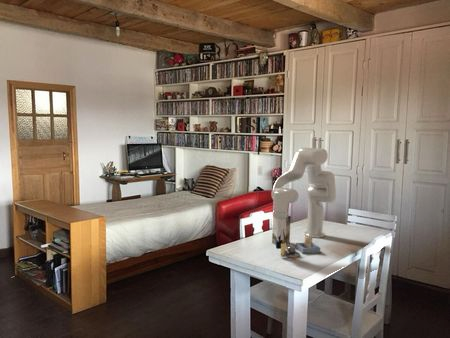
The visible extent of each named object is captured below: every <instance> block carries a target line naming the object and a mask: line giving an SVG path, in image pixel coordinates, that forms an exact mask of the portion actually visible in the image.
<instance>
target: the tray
mask: <svg viewBox="0 0 450 338" xmlns="http://www.w3.org/2000/svg"><path fill="white" fill-rule="evenodd" d="M304 245H305V242H295V247H296V250H297V251H298V252H299V253H301V254H302V255H304V254H306V255H310V254H321V247H320V246H318V245H317V244H316V243H314V242H313V241H312V248H304Z"/></svg>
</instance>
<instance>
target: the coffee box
mask: <svg viewBox="0 0 450 338" xmlns="http://www.w3.org/2000/svg"><path fill="white" fill-rule="evenodd" d="M273 218H274V217H273V216H272V219H273ZM290 238H291V215H289V214H288V215H287V218H286V236H285V237H284V240H283V243H286V244H290V241H291V239H290ZM276 241H277V240H276V236H275V235H274V234H273V232H272V237H271V244H273V245H276Z"/></svg>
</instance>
